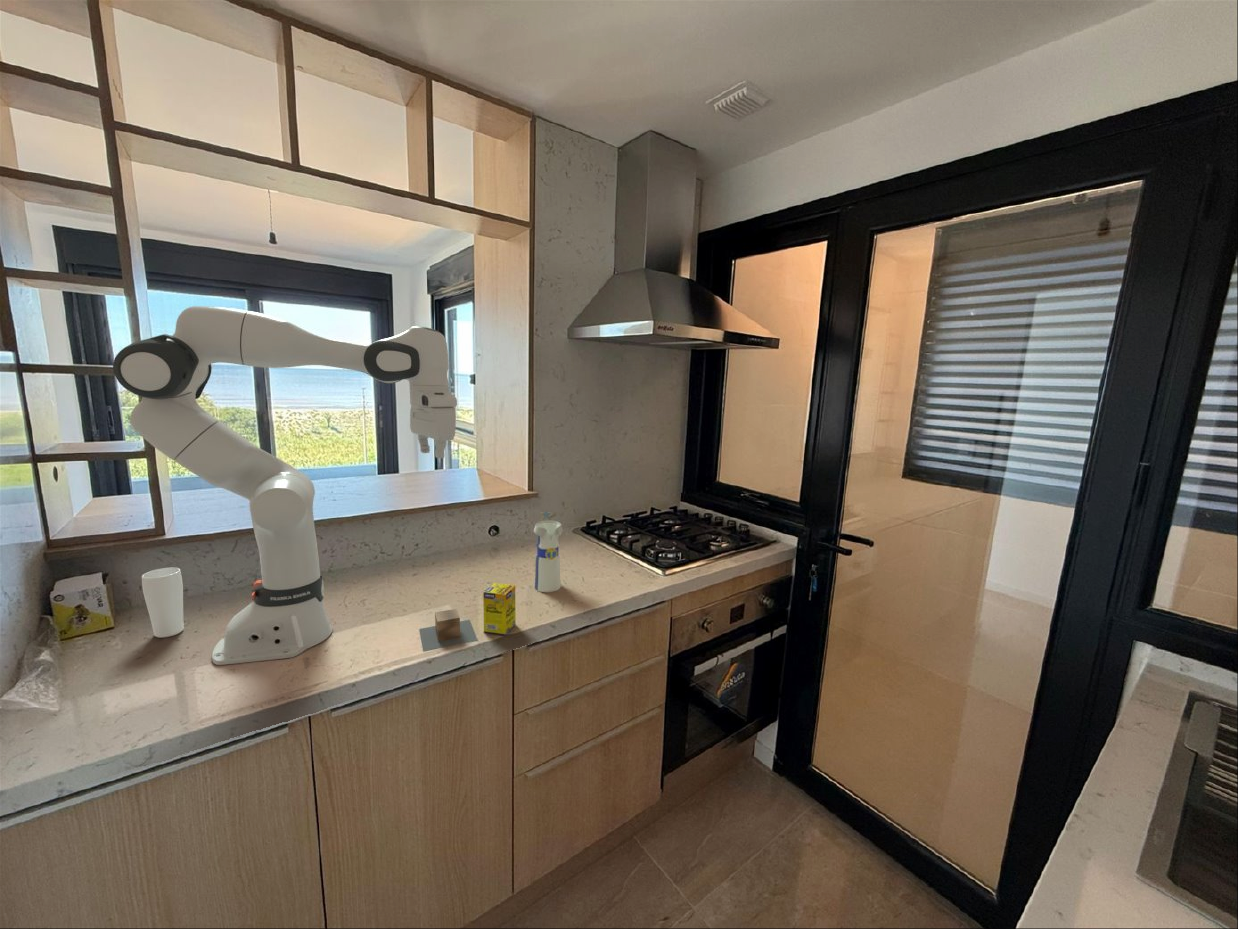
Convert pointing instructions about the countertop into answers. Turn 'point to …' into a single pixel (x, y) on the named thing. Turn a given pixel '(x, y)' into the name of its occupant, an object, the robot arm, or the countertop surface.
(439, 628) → the walnut cube
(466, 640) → the mat
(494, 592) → the supplement box
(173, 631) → the drinking glass
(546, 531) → the white and blue cylinder
